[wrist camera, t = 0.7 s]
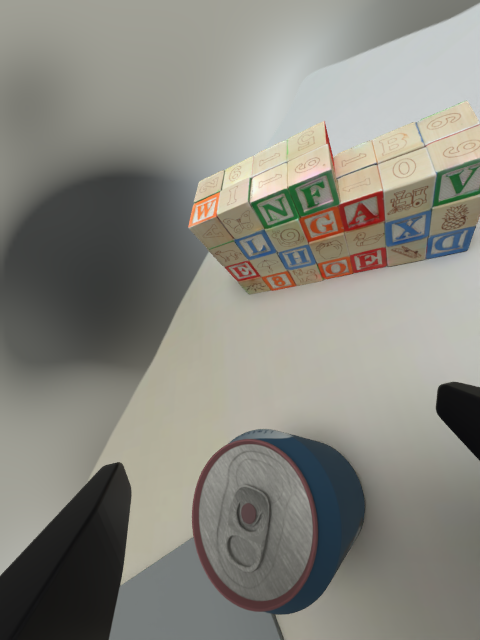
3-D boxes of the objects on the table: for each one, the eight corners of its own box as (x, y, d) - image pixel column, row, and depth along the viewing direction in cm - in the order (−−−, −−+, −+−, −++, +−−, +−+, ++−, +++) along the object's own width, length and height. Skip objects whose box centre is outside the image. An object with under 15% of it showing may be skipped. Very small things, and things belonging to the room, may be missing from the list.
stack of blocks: (450, 202, 25) (481, 43, 16) (469, 252, 22) (520, 96, 13) (251, 256, 35) (196, 179, 26) (247, 296, 32) (184, 226, 23)
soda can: (283, 431, 23) (207, 410, 14) (370, 456, 19) (344, 450, 10) (266, 523, 21) (159, 570, 12) (361, 571, 17) (317, 699, 8)
